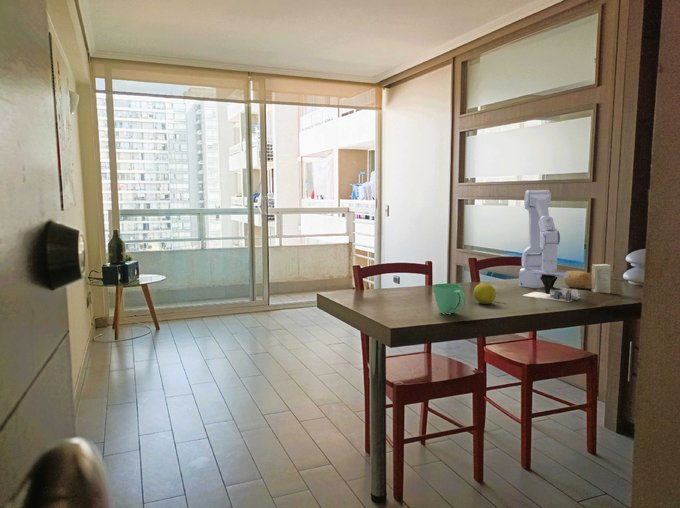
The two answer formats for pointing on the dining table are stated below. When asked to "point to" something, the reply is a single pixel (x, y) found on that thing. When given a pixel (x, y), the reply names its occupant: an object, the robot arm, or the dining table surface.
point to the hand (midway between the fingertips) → (548, 293)
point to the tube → (563, 292)
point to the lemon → (484, 293)
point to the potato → (577, 279)
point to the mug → (449, 297)
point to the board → (544, 296)
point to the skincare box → (601, 278)
